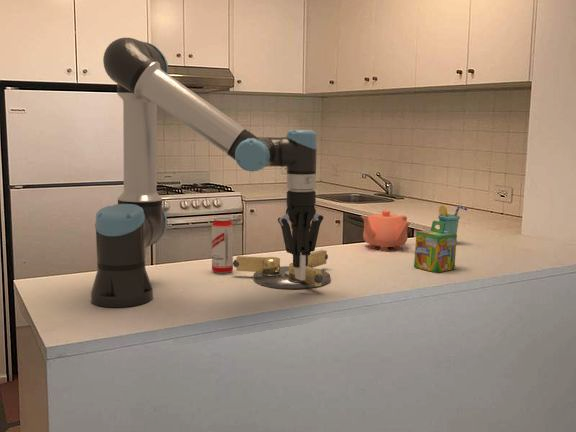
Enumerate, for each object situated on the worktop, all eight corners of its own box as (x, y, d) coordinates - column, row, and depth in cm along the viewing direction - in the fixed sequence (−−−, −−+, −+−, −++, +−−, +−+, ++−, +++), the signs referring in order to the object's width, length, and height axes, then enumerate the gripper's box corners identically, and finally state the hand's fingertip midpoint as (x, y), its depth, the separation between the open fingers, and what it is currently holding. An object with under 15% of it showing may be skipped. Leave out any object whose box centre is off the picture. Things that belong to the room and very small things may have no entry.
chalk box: (413, 268, 198) (415, 221, 196) (432, 264, 204) (434, 218, 202) (437, 273, 191) (439, 225, 189) (456, 269, 197) (458, 222, 195)
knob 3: (306, 272, 184) (306, 258, 183) (292, 269, 187) (292, 255, 186) (332, 264, 194) (333, 250, 194) (319, 261, 197) (319, 248, 197)
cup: (471, 246, 232) (473, 205, 230) (457, 248, 228) (459, 207, 225) (442, 240, 244) (444, 201, 241) (428, 242, 239) (429, 202, 237)
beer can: (222, 268, 195) (222, 216, 192) (237, 271, 191) (237, 219, 188) (207, 272, 190) (207, 219, 187) (222, 275, 186) (222, 221, 183)
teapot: (408, 253, 219) (410, 214, 217) (359, 251, 222) (360, 213, 220) (406, 244, 235) (407, 208, 233) (360, 242, 237) (360, 207, 235)
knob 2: (285, 277, 178) (285, 263, 177) (300, 275, 180) (301, 261, 180) (313, 289, 166) (313, 273, 165) (328, 286, 169) (329, 271, 168)
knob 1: (281, 270, 185) (281, 256, 185) (278, 274, 181) (278, 260, 180) (235, 268, 187) (235, 254, 187) (231, 272, 182) (231, 258, 182)
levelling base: (278, 293, 168) (278, 284, 167) (239, 275, 186) (239, 267, 186) (345, 283, 179) (345, 274, 179) (303, 267, 198) (303, 259, 197)
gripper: (287, 192, 158) (286, 285, 162) (330, 190, 165) (328, 278, 168) (272, 189, 164) (271, 278, 168) (314, 187, 171) (312, 272, 175)
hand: (300, 278), depth 168 cm, fingers closed
